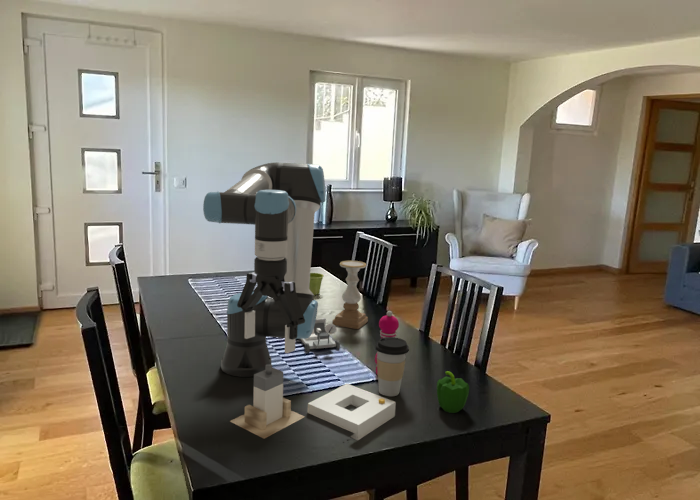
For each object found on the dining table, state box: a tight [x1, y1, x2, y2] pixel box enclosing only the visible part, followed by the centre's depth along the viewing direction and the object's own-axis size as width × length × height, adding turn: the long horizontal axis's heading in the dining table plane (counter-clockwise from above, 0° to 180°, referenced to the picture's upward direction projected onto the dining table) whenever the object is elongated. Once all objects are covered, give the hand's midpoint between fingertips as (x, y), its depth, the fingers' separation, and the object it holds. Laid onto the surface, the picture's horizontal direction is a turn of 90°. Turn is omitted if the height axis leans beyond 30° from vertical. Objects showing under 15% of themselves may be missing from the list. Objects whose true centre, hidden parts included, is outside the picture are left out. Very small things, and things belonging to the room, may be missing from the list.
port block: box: [307, 383, 397, 441], centre depth 142 cm, size 16×16×5 cm
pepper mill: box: [374, 310, 400, 376], centre depth 169 cm, size 7×7×20 cm
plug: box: [252, 363, 284, 425], centre depth 135 cm, size 4×6×14 cm, turn 142°
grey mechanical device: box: [299, 317, 341, 353], centre depth 191 cm, size 18×10×12 cm
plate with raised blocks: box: [229, 397, 306, 440], centre depth 136 cm, size 12×14×6 cm
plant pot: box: [309, 272, 324, 296], centre depth 254 cm, size 9×9×9 cm
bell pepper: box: [436, 370, 470, 414], centre depth 149 cm, size 8×8×10 cm
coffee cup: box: [375, 337, 410, 397], centre depth 157 cm, size 9×9×15 cm
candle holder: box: [331, 260, 369, 330], centre depth 214 cm, size 11×11×24 cm
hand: (269, 344), depth 133 cm, fingers open, 13 cm apart
